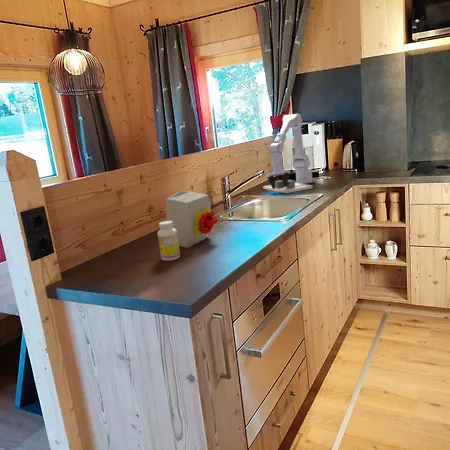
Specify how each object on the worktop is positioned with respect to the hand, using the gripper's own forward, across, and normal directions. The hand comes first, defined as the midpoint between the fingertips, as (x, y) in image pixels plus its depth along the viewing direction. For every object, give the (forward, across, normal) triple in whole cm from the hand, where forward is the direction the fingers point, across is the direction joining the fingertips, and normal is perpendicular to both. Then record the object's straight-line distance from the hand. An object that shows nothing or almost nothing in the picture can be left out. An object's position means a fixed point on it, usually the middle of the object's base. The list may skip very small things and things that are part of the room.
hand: (279, 187), depth 250 cm
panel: (+3, -9, -6) cm, 12 cm away
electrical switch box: (+3, +77, +62) cm, 98 cm away
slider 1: (+1, -3, -5) cm, 6 cm away
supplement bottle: (+3, +91, +74) cm, 117 cm away
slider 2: (+1, -7, 0) cm, 7 cm away
